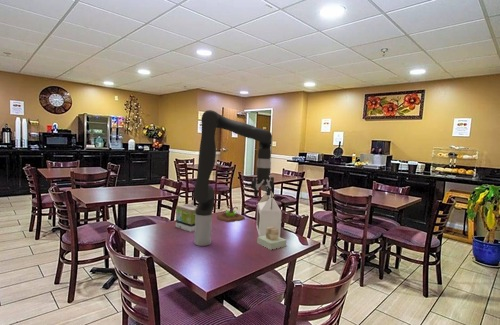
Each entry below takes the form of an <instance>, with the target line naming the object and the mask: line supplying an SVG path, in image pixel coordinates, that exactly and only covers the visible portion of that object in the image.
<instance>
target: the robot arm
mask: <svg viewBox="0 0 500 325" xmlns="http://www.w3.org/2000/svg"><path fill="white" fill-rule="evenodd" d="M217 129H222V130H226V131H229V132H232V133H233V134H236V135H238V136H241V137H245V138H247V139H252V140H255V141H257V142H258V144H259V145H258V146H259V147H258V153H257V161H256V177H251V183H250V184H251V185H250V188H251V189H252V190H253V196H254V197H255V198H257V197H258V196H259V189H260V187H262V186H265V187H266V193H265V194H266V195H268V196H269V195H270V192H271V191H272V189H274V188H275V177H273V176H270V175H271V170H272V168H271V167H272V166H271V165H272V161H271V157H272V140H273V135H272V133H271V132H270V131H269V130H267V129H263V128H260V127H257V126H254V125H252V124H249V123H245V122H242V121H238V120H233V119H230V118H228V117H225V116H223V115H221V113H220V114H219V113H218V112H217V111H215V110H212V109H208V110H207V109H206V110H205V111H204V112H203V114H202V116H201V137H200V144H199V151H198V163H197V172H196V173H197V174H196V181H195V186H194V192H193V197H194V199H195V201H196V203H198V205H197V208H196V215H195V231H194V237H193V238H194V239H193V241H194V244H195V245H196V246H198V247H205V246H209V245H211V242H212V240H211V239H212V221H213V216H212V215H213V209H214V206H215V205H214V204H215V190H214V188H213V187H212V186H211V185H210V184H209V183H210V177H211V175H212V172H213V170H214V167H215V166H216V165H215V164H216V159H217V158H216V157H217V156H216V155H217V148H216V147H217V146H216V137H215V136H216V130H217Z"/></svg>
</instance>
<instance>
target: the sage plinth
mask: <svg viewBox="0 0 500 325" xmlns="http://www.w3.org/2000/svg"><path fill="white" fill-rule="evenodd" d="M256 243H257V244H258V245H259V246H262V247H263V246H264V248H265V247H266V248H265V249H267V248H268V250H269V249H270V250H269V251H273V250H277V249H280V247H281V248H284V247H286V246H287V239H286V238H282V237H281V236H280V237H279V236H278V239H276V240H272V241H271V240H269V239H267V238H266V235H265V236H260V237H259V236H257V239H256ZM276 248H277V249H276ZM272 249H273V250H272Z"/></svg>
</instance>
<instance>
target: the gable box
mask: <svg viewBox="0 0 500 325" xmlns="http://www.w3.org/2000/svg"><path fill="white" fill-rule="evenodd" d="M274 197H275V194H274V193H273V191H272V190H271V192H270V195H269V196H268V195H266V193H265V194H263V196H262V198H260V200H259V201H258V202H257V207H256V208H257V212H256V226H255V227H256V230H257V234H258V237H260V236H265V235H266V228H269V227H275V228H277V229H279V231H278V236H279V237H281V228H282V214H283V211H282V210H281V208H280V207H279V205H278V203H277V201H276V200H275V198H274Z"/></svg>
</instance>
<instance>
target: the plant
mask: <svg viewBox="0 0 500 325" xmlns="http://www.w3.org/2000/svg"><path fill="white" fill-rule="evenodd" d="M226 207H227V209H226V211H224V212H222V213H218V214H216V218H217V220H219V221H221V222H225V223H233V222H234V223H235V222H241V221H243V220H244V221H245V220H246V219H245V218H246V217H245V216H244V215H242V214H239V213H238V212H237V211H236V210H238V209H239V208H238V206H234V207H232V206H231V205H230V204H229V205H227V206H226ZM235 208H236V210H235ZM228 209H229V210H228Z"/></svg>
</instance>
